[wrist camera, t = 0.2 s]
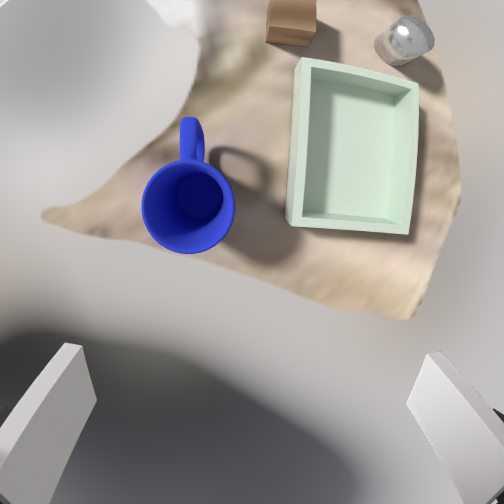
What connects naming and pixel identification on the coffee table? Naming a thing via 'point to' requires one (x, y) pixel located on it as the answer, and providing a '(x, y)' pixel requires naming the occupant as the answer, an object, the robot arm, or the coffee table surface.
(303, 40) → the walnut block
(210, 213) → the mug
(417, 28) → the canister
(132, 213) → the coffee table surface
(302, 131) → the tote
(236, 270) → the coffee table surface
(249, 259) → the coffee table surface
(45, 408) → the robot arm
